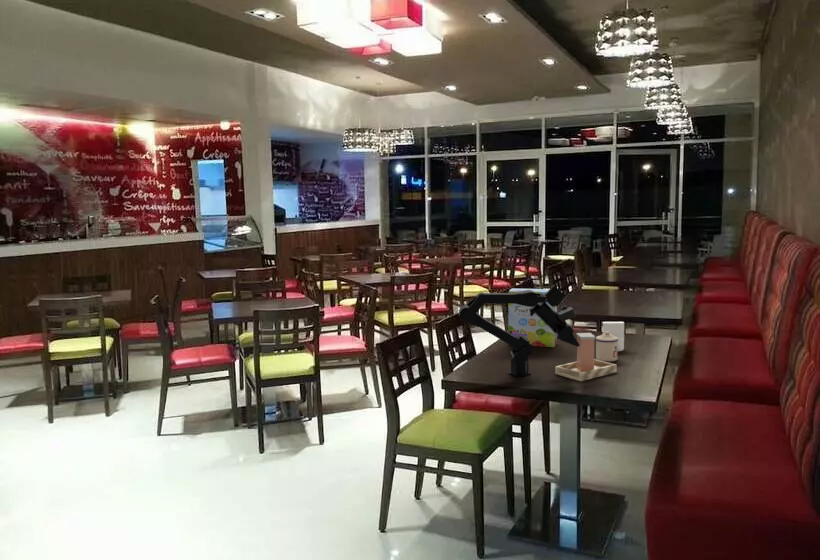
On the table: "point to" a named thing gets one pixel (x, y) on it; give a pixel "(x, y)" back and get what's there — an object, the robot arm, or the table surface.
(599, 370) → the tray
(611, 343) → the teacup with lid
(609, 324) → the base with upright slab
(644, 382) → the table surface
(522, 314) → the snack box
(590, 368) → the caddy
